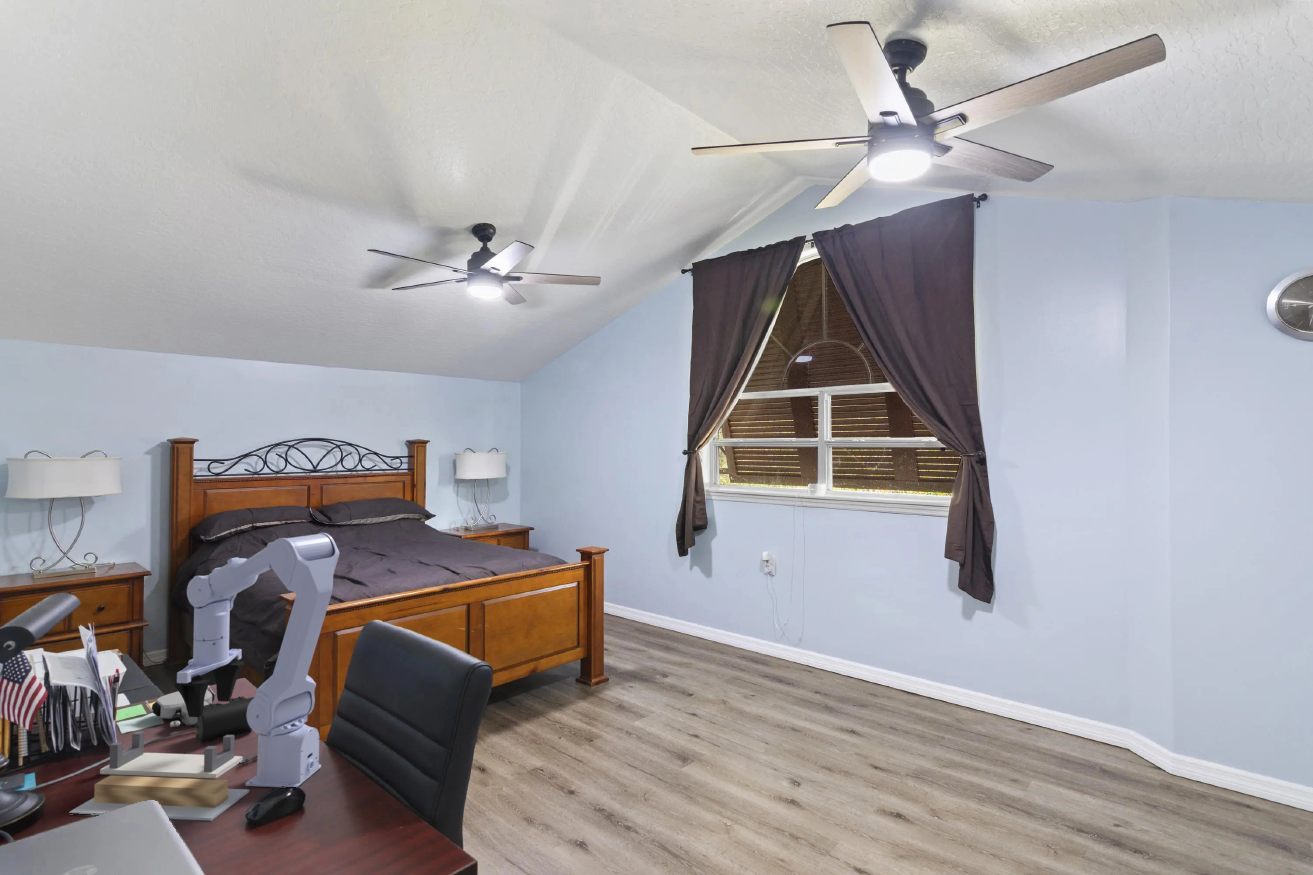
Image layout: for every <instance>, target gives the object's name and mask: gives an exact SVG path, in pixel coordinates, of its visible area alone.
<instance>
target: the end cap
mask: <svg viewBox="0 0 1313 875" xmlns="http://www.w3.org/2000/svg"><path fill="white" fill-rule="evenodd" d="M254 697H255V696H253V697H252V696H251V697H248V698H246V697H245V696H243V695H242V696H238V697H234V698H233V697H231V699H230V701H228V702H226V703H222V704H223V705H219V706H216V705H214V703H210V704H208V705H204V708H203V713H202V716H200V717H197V718H198V719H199V723H198V722H196V723H195V724H193V725H194V727H195V728H194V730H195V731H197V734H195V739H196V740H197V741H198V742H199V743H201V744H205V743H207V742H212V741H215V740H219V739H223V737H224V736H226V735H238V734H241V733H245V732H248V731H253V730H252V729H251V727H250V726H249V724H248V721H247V708H248V705H249V703H250V702H251V701H252V700H253V698H254Z"/></svg>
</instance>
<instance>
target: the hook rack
mask: <svg viewBox="0 0 1313 875" xmlns="http://www.w3.org/2000/svg"><path fill="white" fill-rule="evenodd" d="M235 735H236V734H234V735H226V736H224V737H223V738H222V750H221V751H220V752H217V746H216V745H207V746H206V747H205V748H203V749H204V750H203V751H204V752H203V754H196V753H195V754H189V753H185V754H184V753H165V752H163V753H162V752H144V750H145V748H144V746H145V731H135V732H133V733H132V734H131V747H129V748H128V749H125V750H124V751H123V742H113V743H110V744H109V764H107V765H105V766H104V767H102V768H101V769H99V774H100V775H114V776H139V777H164V778H188V779H213V780H217V778H219V777H221V776H222V775H224V774H226V772H228V771H229V770H231V769H232V768H234V767H235V766H237V765H238V764H239V762H240V763H241V762H242V761H243V756H241V755H235Z"/></svg>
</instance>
